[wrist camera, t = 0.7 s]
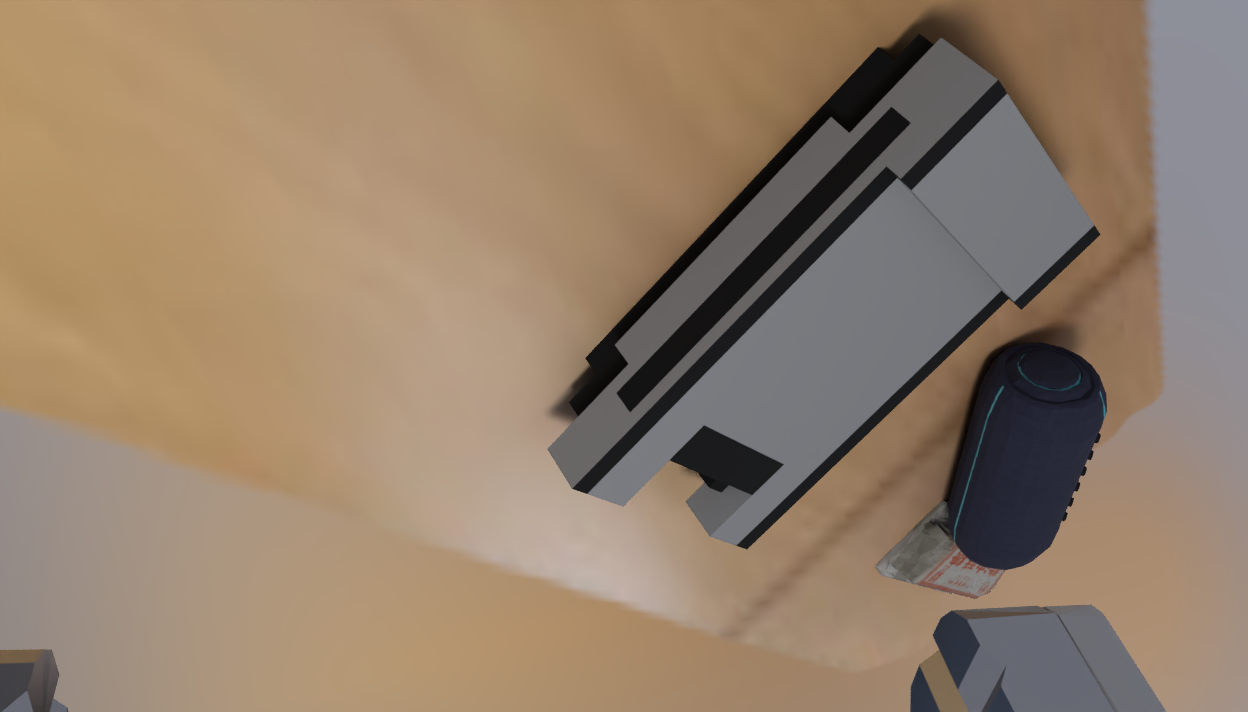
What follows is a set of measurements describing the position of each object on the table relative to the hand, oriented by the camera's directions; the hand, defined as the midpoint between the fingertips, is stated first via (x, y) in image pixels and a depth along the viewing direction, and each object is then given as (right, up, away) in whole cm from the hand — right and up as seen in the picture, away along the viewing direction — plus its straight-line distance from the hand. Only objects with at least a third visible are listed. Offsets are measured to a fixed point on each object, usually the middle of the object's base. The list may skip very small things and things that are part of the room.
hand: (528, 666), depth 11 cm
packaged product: (+34, -16, +108) cm, 114 cm away
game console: (+11, +8, +64) cm, 66 cm away
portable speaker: (+33, -3, +93) cm, 99 cm away
